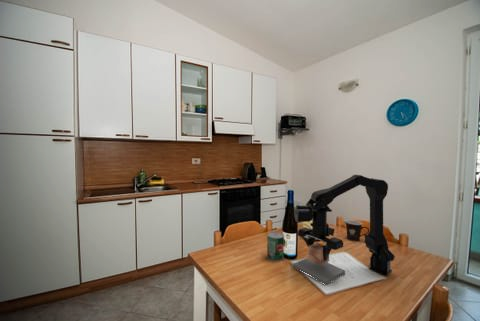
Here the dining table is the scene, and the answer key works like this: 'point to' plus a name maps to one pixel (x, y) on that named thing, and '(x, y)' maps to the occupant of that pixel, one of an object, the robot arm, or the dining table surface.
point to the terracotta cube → (317, 254)
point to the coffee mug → (354, 230)
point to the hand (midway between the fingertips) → (318, 257)
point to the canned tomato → (275, 246)
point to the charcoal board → (319, 270)
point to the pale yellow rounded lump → (307, 225)
